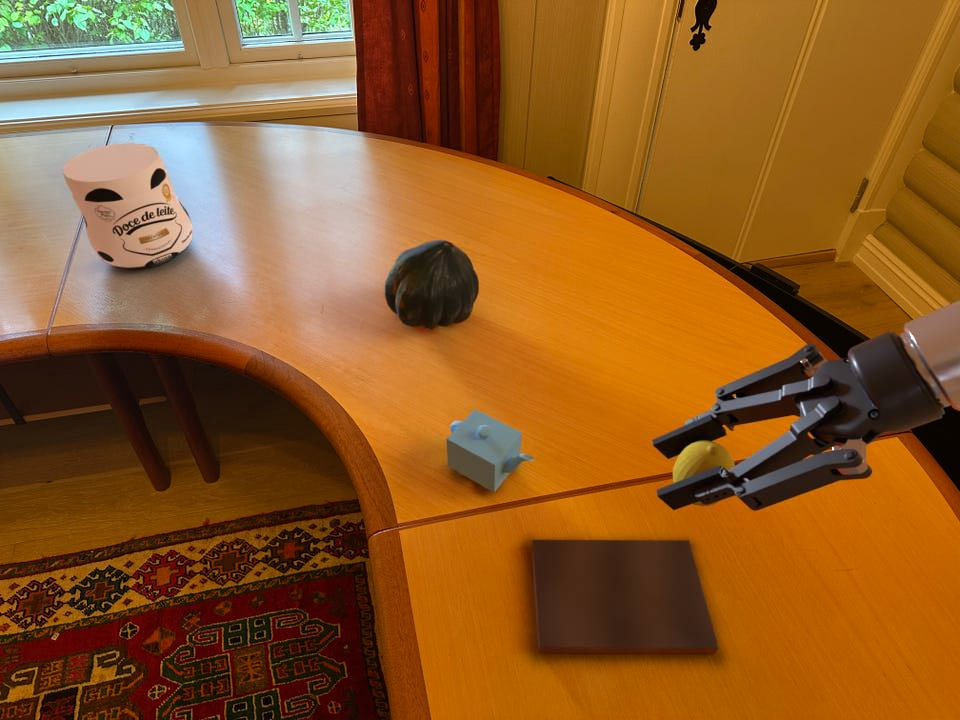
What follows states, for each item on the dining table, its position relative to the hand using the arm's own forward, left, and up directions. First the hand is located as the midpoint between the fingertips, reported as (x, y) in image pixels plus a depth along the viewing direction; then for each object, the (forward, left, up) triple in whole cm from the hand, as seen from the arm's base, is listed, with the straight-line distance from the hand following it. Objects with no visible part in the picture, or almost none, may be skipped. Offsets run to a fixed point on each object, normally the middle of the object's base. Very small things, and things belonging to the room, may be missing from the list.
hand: (663, 473), depth 60 cm
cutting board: (-2, +6, -15) cm, 16 cm away
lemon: (-3, -2, -4) cm, 5 cm away
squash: (+49, -14, -15) cm, 53 cm away
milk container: (+102, +11, -15) cm, 104 cm away
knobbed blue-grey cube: (+20, +3, -15) cm, 25 cm away
